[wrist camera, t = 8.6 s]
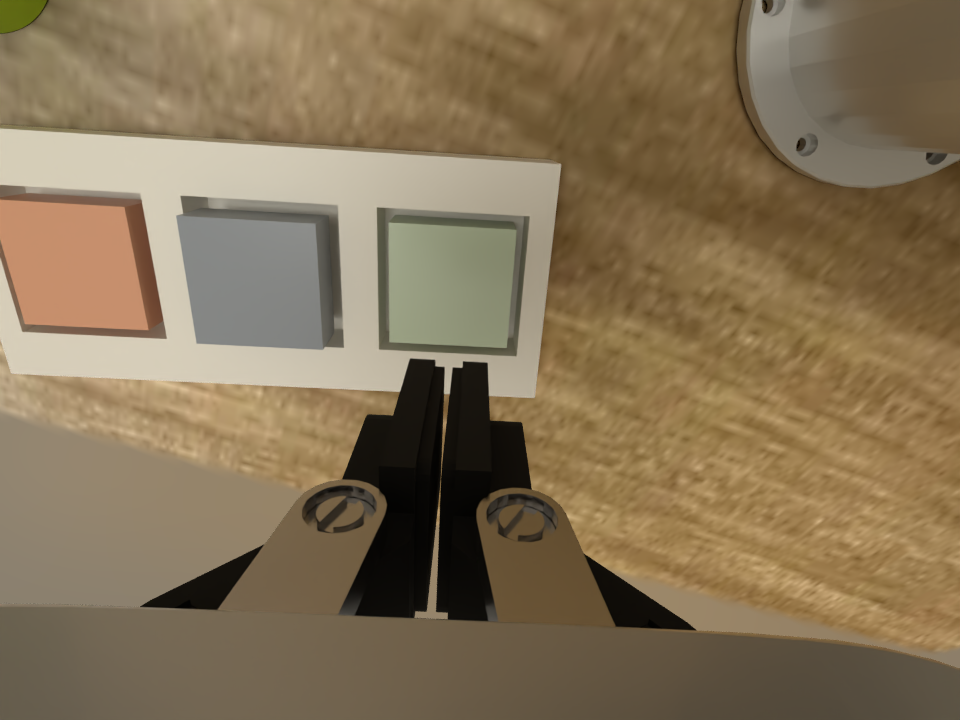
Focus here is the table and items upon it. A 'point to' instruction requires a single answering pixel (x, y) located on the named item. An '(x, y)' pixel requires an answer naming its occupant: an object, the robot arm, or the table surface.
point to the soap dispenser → (18, 13)
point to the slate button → (258, 277)
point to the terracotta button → (80, 261)
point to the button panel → (285, 189)
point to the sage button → (450, 280)
